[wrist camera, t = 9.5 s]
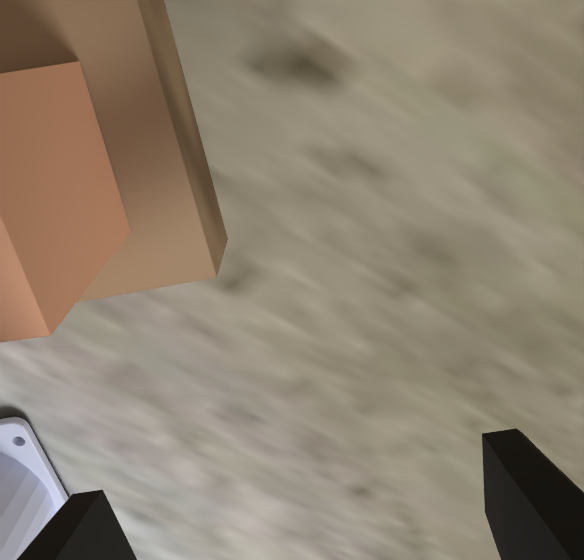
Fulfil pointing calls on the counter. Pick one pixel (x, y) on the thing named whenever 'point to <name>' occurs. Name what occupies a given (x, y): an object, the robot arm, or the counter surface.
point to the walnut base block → (132, 131)
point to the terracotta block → (52, 198)
